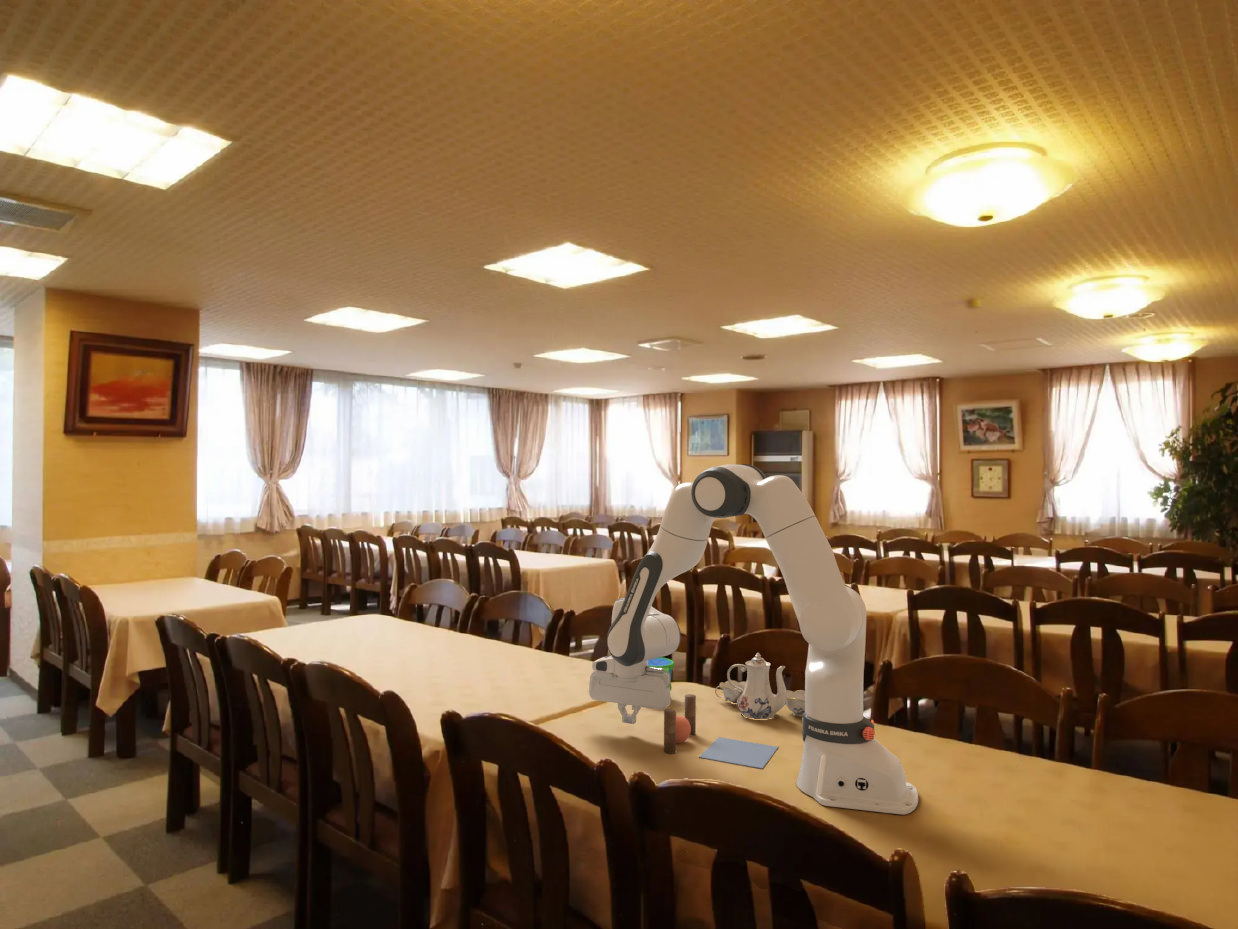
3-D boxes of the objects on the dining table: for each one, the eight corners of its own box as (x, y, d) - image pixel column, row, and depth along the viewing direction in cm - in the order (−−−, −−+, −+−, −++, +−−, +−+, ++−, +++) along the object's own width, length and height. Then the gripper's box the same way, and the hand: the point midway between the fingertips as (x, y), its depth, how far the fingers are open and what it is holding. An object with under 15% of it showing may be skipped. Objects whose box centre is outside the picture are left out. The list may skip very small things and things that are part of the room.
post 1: (677, 750, 163) (677, 710, 164) (673, 754, 161) (673, 713, 161) (666, 749, 164) (666, 708, 165) (662, 752, 162) (662, 711, 162)
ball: (695, 715, 170) (671, 709, 173) (686, 723, 165) (661, 717, 168) (693, 741, 170) (669, 734, 173) (684, 749, 165) (659, 743, 168)
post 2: (697, 733, 175) (697, 695, 175) (693, 736, 173) (693, 698, 173) (686, 731, 176) (687, 693, 177) (683, 734, 174) (683, 696, 174)
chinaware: (821, 718, 193) (823, 653, 195) (809, 730, 178) (811, 660, 180) (719, 703, 205) (721, 643, 207) (700, 714, 190) (702, 648, 192)
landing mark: (778, 747, 166) (778, 746, 166) (762, 769, 153) (762, 768, 153) (718, 738, 172) (718, 737, 172) (698, 757, 159) (698, 757, 159)
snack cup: (682, 704, 198) (683, 666, 198) (646, 707, 195) (646, 669, 195) (662, 689, 213) (662, 653, 213) (628, 691, 210) (628, 655, 210)
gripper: (675, 666, 173) (674, 725, 173) (598, 657, 182) (597, 713, 182) (665, 672, 167) (664, 733, 167) (586, 662, 176) (585, 720, 176)
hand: (629, 722), depth 174 cm, fingers closed
